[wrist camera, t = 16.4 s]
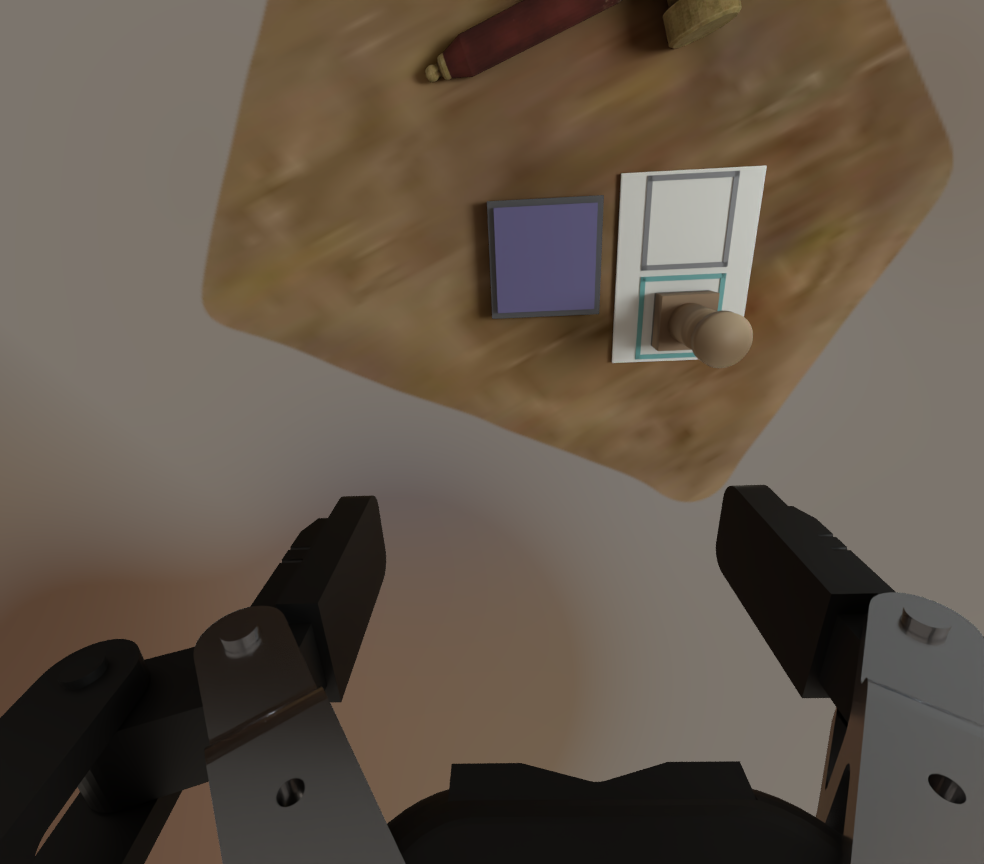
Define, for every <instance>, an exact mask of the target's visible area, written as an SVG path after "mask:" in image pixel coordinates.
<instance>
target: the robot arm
mask: <svg viewBox="0 0 984 864" xmlns="http://www.w3.org/2000/svg"><path fill="white" fill-rule="evenodd" d="M716 556H717V561H718V565H719V567H720V570H721V572H722V573H723V575H724V577H725V578H726V580H727V581H728V583H729V584H730V586H731V588H732V589H733V591H734V592H735V594H736V595H737V597H738V598H739V600H740V601H741V603H742V605H743V606H744V607H745V609H746V611H747V613H748V614H749V616H750V617H751V619H752V620H753V622H754V624H755V625H756V627H757V628H758V630H759V631H760V633H761V635H762V636H763V638H764V639H765V641H766V642H767V644H768V645H769V647H770V649H771V650H772V652H773V653H774V655H775V656H776V658H777V660H778V661H779V662H780V664H781V666H782V667H783V669H784V671H785V672H786V674H787V675H788V677H789V678H790V680H791V682H792V683H793V685H794V686H795V688H796V689H797V691H798V693H799V694H800V696H801V697H802V698H831V700H832V701H833V703H834V704H835V706H836V710H835V712H834V716H833V719H832V723H831V729H830V735H829V741H828V748H827V754H826V761H825V766H824V772H823V779H822V785H821V791H820V797H819V803H818V809H817V813H816V817H814V816H813V815H811V814H809V813H807V812H806V811H804V810H802V809H801V808H799V807H797V806H794V805H793V804H790V803H788V802H786V801H784V800H782V799H780V798H777V797H775V796H772V795H769V794H766V793H764V792H761V791H758V790H754V789H752V788H751V786H750V784H749V782H748V779H747V777H746V775H745V773H744V770H743V768H742V766H741V764H740V762H666V763H663V764H660V765H657V766H653V767H650V768H647V769H643V770H640V771H636V772H633V773H630V774H627V775H623V776H620V777H617V778H613V779H610V780H607V781H602V782H592V781H587V780H583V779H579V778H576V777H571V776H568V775H564V774H560V773H557V772H553V771H549V770H545V769H541V768H537V767H534V766H530V765H526V764H522V763H495V764H494V763H487V764H452V768H451V778H450V788H449V790H445V791H442V792H439V793H436V794H434V795H432V796H429V797H427V798H425V799H423V800H421V801H419V802H417V803H416V804H414V805H412V806H411V807H409V808H407V809H406V810H404V811H403V812H402V813H401V814H399V815H398V816H397V817H395V818H394V819H393V820H391V821H390V822H389V823H388V824H387V823H386V821H385V819H384V817H383V815H382V812H381V810H380V808H379V806H378V804H377V802H376V800H375V797H374V795H373V793H372V791H371V789H370V787H369V785H368V782H367V780H366V778H365V776H364V774H363V772H362V770H361V768H360V765H359V763H358V761H357V759H356V757H355V755H354V753H353V750H352V749H351V746H350V744H349V742H348V740H347V738H346V735H345V733H344V731H343V729H342V727H341V725H340V723H339V720H338V718H337V716H336V714H335V712H334V710H333V708H332V706H331V703H330V702H341V701H342V698H343V695H344V692H345V689H346V686H347V684H348V681H349V678H350V675H351V672H352V669H353V666H354V663H355V661H356V658H357V655H358V652H359V649H360V646H361V643H362V640H363V637H364V634H365V631H366V628H367V625H368V623H369V620H370V617H371V614H372V611H373V608H374V605H375V603H376V600H377V597H378V594H379V591H380V588H381V585H382V582H383V579H384V575H385V569H386V551H385V544H384V538H383V532H382V526H381V519H380V513H379V506H378V502H377V499H376V497H375V496H346V497H341V498H340V499H339V501H338V503H337V504H336V506H335V507H334V509H333V511H332V513H331V514H330V516H329V517H328V518H321V519H320V518H319V519H317V520H316V521H314V522H313V523H312V524H311V525H309V526H308V527H306V528H305V529H304V530H302V531H301V532H300V534H299V535H298V537H297V538H296V540H295V541H294V543H293V544H292V546H291V549H290V550H288V551H287V553H286V554H285V556H284V557H283V559H282V563H279V565H278V566H277V568H276V569H275V571H274V572H273V574H272V575H271V577H270V578H269V580H268V581H267V583H266V584H265V586H264V587H263V589H262V590H261V592H260V593H259V595H258V596H257V597H256V599H255V600H254V602H253V603H252V605H251V606H250V607H247V608H244V609H240V610H237V611H235V612H232V613H230V614H228V615H226V616H224V617H223V618H221V619H219V620H218V621H216V622H215V623H214V624H212V625H211V626H210V627H209V628H208V629H207V630H206V631H205V632H204V633H203V634H202V635H201V636H200V638H199V639H198V641H197V643H196V645H195V647H192V648H189V649H185V650H181V651H177V652H173V653H170V654H165V655H162V656H158V657H154V658H150V659H146V660H144V659H143V656H142V654H141V652H140V650H139V648H138V646H137V644H135V643H134V642H133V641H130V640H126V639H113V640H107V641H102V642H98V643H95V644H92V645H90V646H87V647H85V648H82V649H80V650H78V651H76V652H74V653H72V654H70V655H69V656H67V657H65V658H64V659H62V660H61V661H59V662H58V663H56V664H55V665H53V666H52V667H51V668H50V669H48V670H47V671H46V672H45V673H44V674H43V675H42V676H41V677H40V678H39V679H38V680H37V681H36V682H35V683H34V684H33V685H32V686H31V687H30V688H29V689H28V690H27V691H26V692H25V693H24V694H23V695H22V696H21V697H20V698H19V699H18V700H17V701H16V702H15V703H14V704H13V705H12V706H11V707H10V708H9V710H8V711H7V712H6V713H5V714H4V715H3V716H2V717H1V718H0V864H144V863H145V861H146V859H147V857H148V855H149V854H150V852H151V850H152V848H153V846H154V844H155V842H156V840H157V838H158V836H159V834H160V832H161V830H162V828H163V826H164V825H165V823H166V821H167V819H168V817H169V815H170V813H171V811H172V809H173V807H174V805H175V803H176V801H177V799H178V798H179V795H180V794H181V792H182V790H184V789H187V788H190V787H193V786H197V785H200V784H203V783H206V782H209V786H210V792H211V797H212V803H213V809H214V815H215V821H216V827H217V832H218V839H219V844H220V850H221V856H222V862H223V864H984V637H983V636H982V634H981V633H980V631H979V630H978V629H977V628H976V627H975V626H974V625H973V624H972V623H971V622H969V621H968V620H967V619H966V618H964V617H963V616H961V615H960V614H958V613H956V612H955V611H953V610H952V609H950V608H948V607H946V606H944V605H942V604H939V603H937V602H935V601H932V600H929V599H926V598H923V597H920V596H916V595H911V594H906V593H898V592H895V591H894V590H893V589H892V588H891V587H890V586H889V585H887V584H886V583H885V582H884V581H883V580H882V579H881V578H880V577H879V576H878V575H877V574H876V573H875V572H873V571H872V570H871V569H870V568H869V567H868V566H867V565H866V564H865V563H864V562H863V561H861V560H860V559H859V558H858V557H857V556H856V555H855V554H854V553H853V552H852V551H851V550H847V547H846V546H845V545H844V544H843V543H842V542H841V541H840V540H838V538H836V537H833V534H832V533H831V532H830V531H829V530H828V529H827V528H826V527H824V526H823V525H822V524H821V523H820V522H819V521H818V520H817V519H816V518H814V517H812V516H810V515H808V514H806V513H805V512H803V511H800V510H799V509H797V508H795V507H793V506H787V505H786V504H785V503H784V502H783V501H782V500H781V499H780V498H779V497H778V496H777V495H776V494H775V493H774V492H773V491H772V490H771V489H770V488H769V487H768V486H766V485H744V486H729V487H728V488H727V489H726V491H725V493H724V497H723V503H722V510H721V515H720V522H719V528H718V534H717V541H716ZM77 787H78V789H79V790H80V793H79V794H78V796H77V797H76V799H75V800H74V802H73V803H72V804H71V806H70V807H69V809H68V810H67V812H66V813H65V814H64V816H63V817H62V819H61V820H60V822H59V823H58V824H57V826H56V827H55V829H54V830H53V832H52V833H51V834H50V836H49V837H48V839H47V840H46V842H45V843H44V844H43V846H42V847H41V849H40V850H39V852H38V853H37V855H36V856H35V854H36V851H37V848H38V846H39V843H40V841H41V839H42V837H43V835H44V834H45V832H46V831H47V829H48V827H49V826H50V825H51V823H52V822H53V820H54V819H55V818H56V816H57V815H58V813H59V812H60V810H61V809H62V808H63V806H64V805H65V804H66V802H67V801H68V799H69V798H70V796H71V795H72V794H73V792H74V791H75V789H76V788H77Z"/></svg>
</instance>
